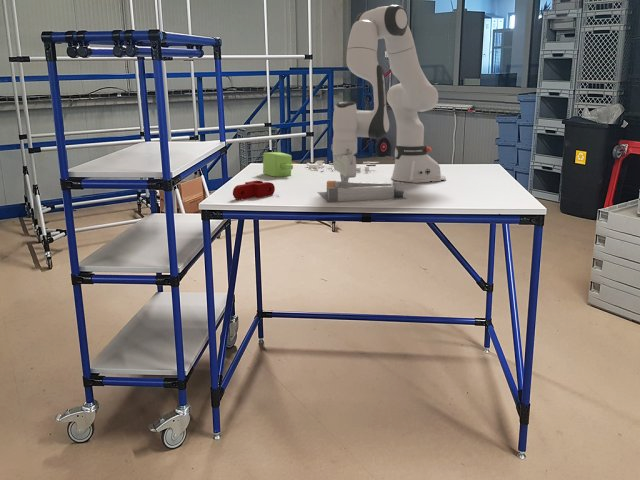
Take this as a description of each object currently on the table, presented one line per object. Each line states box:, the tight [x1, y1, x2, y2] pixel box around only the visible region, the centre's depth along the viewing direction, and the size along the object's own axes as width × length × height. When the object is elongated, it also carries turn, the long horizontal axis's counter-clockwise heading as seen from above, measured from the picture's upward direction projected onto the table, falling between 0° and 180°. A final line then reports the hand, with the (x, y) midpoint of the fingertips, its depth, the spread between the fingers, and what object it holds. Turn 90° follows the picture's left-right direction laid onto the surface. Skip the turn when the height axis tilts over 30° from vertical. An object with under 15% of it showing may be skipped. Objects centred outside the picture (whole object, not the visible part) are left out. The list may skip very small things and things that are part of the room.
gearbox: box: [262, 151, 294, 178], centre depth 255 cm, size 18×10×10 cm, turn 33°
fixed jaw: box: [327, 181, 405, 203], centre depth 201 cm, size 28×5×5 cm, turn 102°
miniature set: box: [305, 160, 379, 173], centre depth 268 cm, size 6×35×12 cm
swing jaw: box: [326, 180, 392, 193], centre depth 208 cm, size 23×3×4 cm, turn 80°
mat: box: [316, 191, 407, 204], centre depth 207 cm, size 28×18×1 cm, turn 102°
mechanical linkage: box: [232, 179, 276, 201], centre depth 210 cm, size 16×7×5 cm, turn 138°
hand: (344, 186), depth 213 cm, fingers closed
